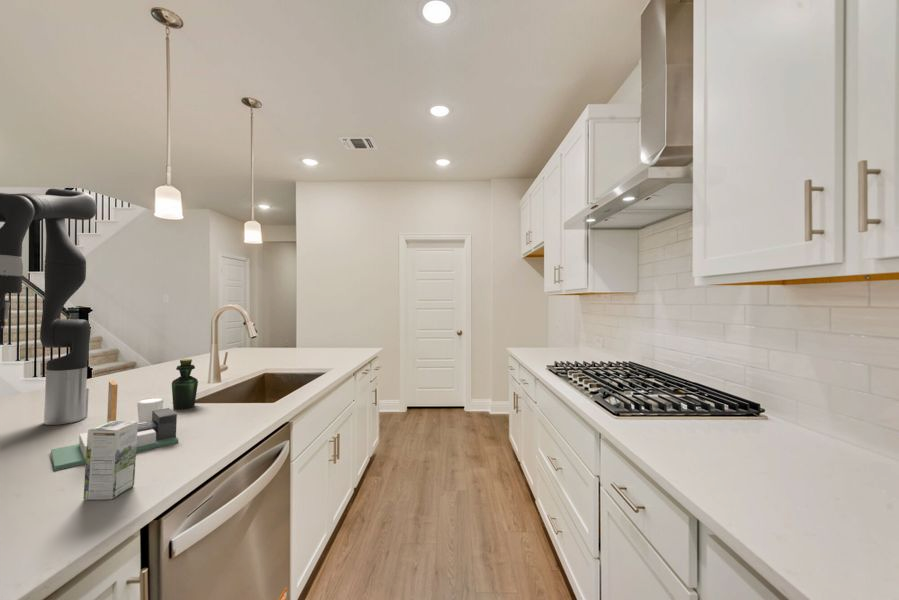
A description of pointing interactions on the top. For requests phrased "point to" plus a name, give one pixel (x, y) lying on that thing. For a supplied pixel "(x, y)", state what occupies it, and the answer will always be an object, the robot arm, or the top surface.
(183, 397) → the potion bottle
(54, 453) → the heatsink board
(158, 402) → the white cup
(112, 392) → the wooden l-shaped piece
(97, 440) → the syrup box
